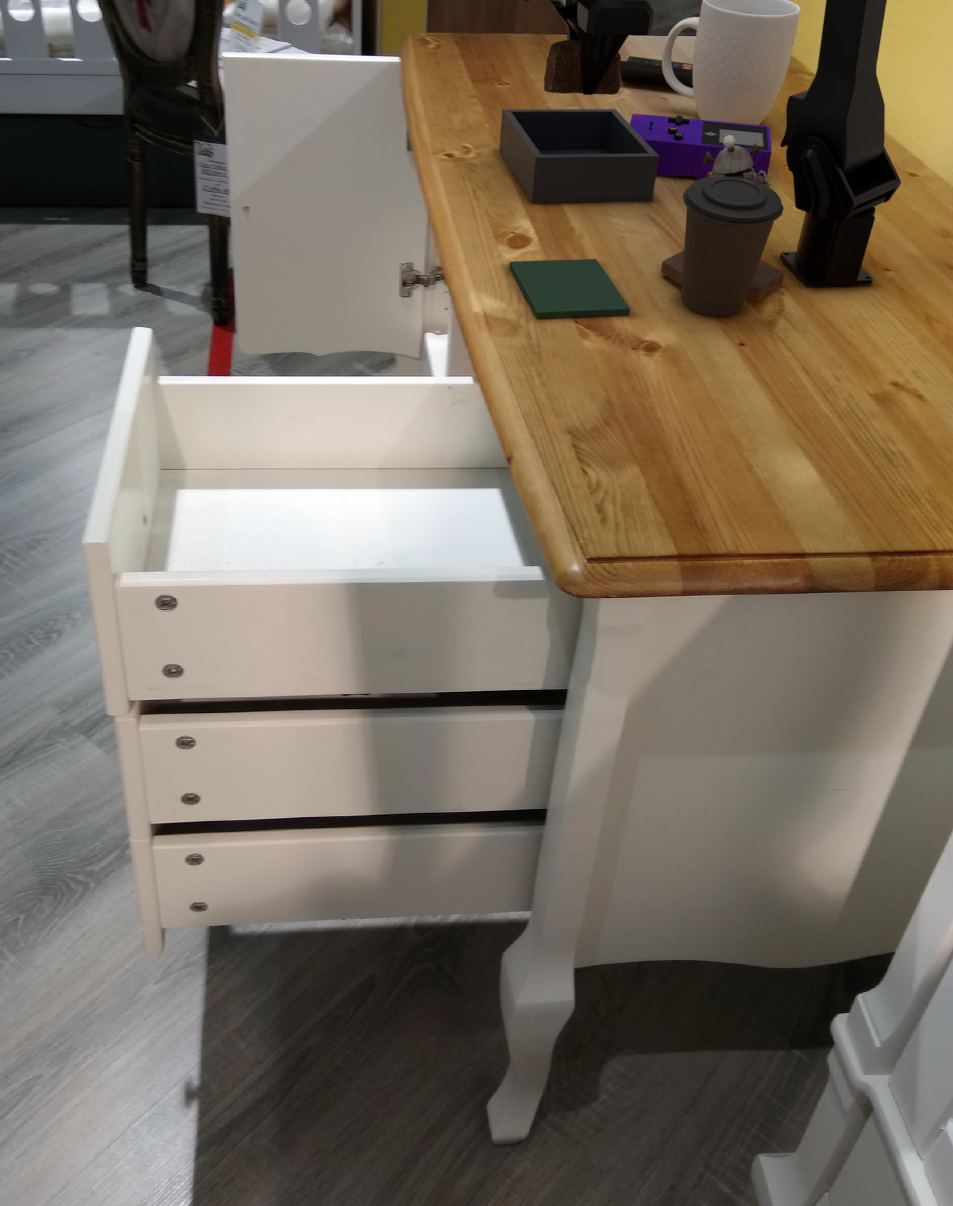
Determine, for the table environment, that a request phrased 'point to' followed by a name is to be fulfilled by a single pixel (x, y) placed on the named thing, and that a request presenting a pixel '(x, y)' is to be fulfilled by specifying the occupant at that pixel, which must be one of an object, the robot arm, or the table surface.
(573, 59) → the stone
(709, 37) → the mug
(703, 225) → the coffee cup
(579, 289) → the mat
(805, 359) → the table surface
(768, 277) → the robot figurine
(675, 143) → the handheld gaming console
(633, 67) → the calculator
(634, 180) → the open box
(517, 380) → the table surface
